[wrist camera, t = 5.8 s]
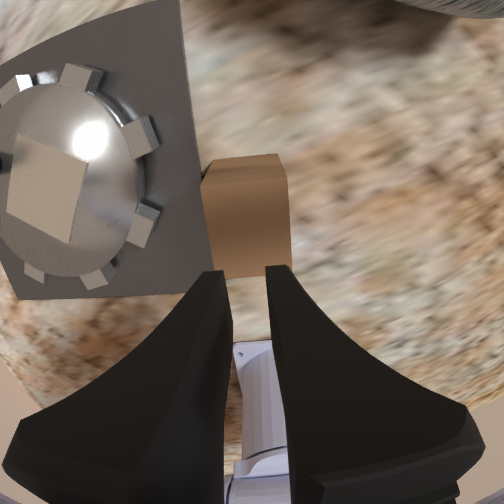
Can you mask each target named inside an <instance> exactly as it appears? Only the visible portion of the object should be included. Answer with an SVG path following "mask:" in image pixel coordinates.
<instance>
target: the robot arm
mask: <svg viewBox="0 0 504 504" xmlns="http://www.w3.org/2000/svg"><path fill="white" fill-rule="evenodd" d="M265 274H266V286H267V297H268V307H269V318H270V329H271V340H266V341H253V342H238V343H235V344H234V345H233V320H232V314H231V309H230V303H229V298H228V292H227V287H226V281H225V276H224V270H216V271H204V272H203V273H202V274H201V275H200V276H199V277H198V279H197V280H196V281H195V282H194V284H193V285H192V286H191V287H190V289H189V290H188V291H187V292H186V294H185V295H184V296H183V298H182V299H181V300H180V301H179V302H178V304H177V305H176V306H175V307H174V308H173V310H172V311H171V312H170V313H169V314H168V315H167V316H166V318H165V319H164V320H163V321H162V322H161V323H160V324H159V325H158V326H157V327H156V328H155V329H154V331H153V332H152V333H151V334H150V335H149V336H148V337H147V338H146V339H144V340H143V341H142V342H141V343H140V344H139V345H138V346H137V347H136V348H135V349H134V350H132V351H131V352H130V353H129V354H128V355H127V356H125V357H124V358H123V359H122V360H121V361H119V362H118V363H117V364H115V365H114V366H113V367H111V368H110V369H109V370H107V371H106V372H105V373H103V374H102V375H101V376H99V377H98V378H97V379H95V380H94V381H92V382H91V383H89V384H88V385H86V386H84V387H83V388H81V389H80V390H78V391H77V392H75V393H73V394H71V395H70V396H68V397H66V398H65V399H63V400H61V401H59V402H57V403H56V404H54V405H51V406H49V407H47V408H45V409H43V410H41V411H39V412H37V413H35V414H33V415H31V416H29V417H26V418H24V419H21V420H20V423H19V425H18V427H17V429H16V431H15V434H14V436H13V438H12V441H11V444H10V445H9V448H8V450H7V453H6V455H5V458H4V460H3V463H2V466H3V469H4V471H5V473H6V474H7V475H8V476H10V477H11V478H12V479H13V480H14V481H16V482H17V483H18V484H20V485H21V486H22V487H24V488H25V489H27V490H28V491H30V492H31V493H33V494H35V495H36V496H38V497H39V498H41V499H42V500H44V501H46V502H47V503H49V504H456V500H455V498H456V497H458V496H459V495H460V491H459V488H458V485H457V482H456V481H457V480H458V479H459V478H460V477H462V476H463V475H464V474H465V473H466V472H467V471H468V470H469V469H470V468H472V467H473V466H474V465H475V464H476V463H477V461H478V460H479V459H480V458H481V457H482V454H483V452H484V450H485V444H484V442H483V439H482V437H481V435H480V432H479V430H478V427H477V425H476V423H475V421H474V419H473V418H472V416H471V414H470V413H469V411H468V409H467V407H466V406H465V405H463V404H461V403H458V402H456V401H454V400H451V399H449V398H447V397H444V396H442V395H440V394H438V393H435V392H433V391H431V390H429V389H427V388H425V387H423V386H421V385H419V384H417V383H415V382H414V381H412V380H410V379H408V378H406V377H405V376H403V375H401V374H399V373H398V372H396V371H395V370H393V369H392V368H390V367H389V366H387V365H386V364H384V363H383V362H381V361H380V360H378V359H377V358H375V357H374V356H372V355H371V354H369V353H368V352H367V351H366V350H364V349H363V348H362V347H360V346H359V345H358V344H357V343H356V342H354V341H353V340H352V339H351V338H350V337H348V336H347V335H346V334H345V333H344V332H343V331H342V330H341V329H340V328H339V327H338V326H337V325H335V324H334V323H333V322H332V320H331V319H330V318H329V317H328V316H327V315H326V314H325V313H324V312H323V311H322V310H321V309H320V308H319V307H318V306H317V304H316V303H315V302H314V301H313V300H312V298H311V297H310V296H309V295H308V294H307V292H306V291H305V290H304V288H303V287H302V286H301V284H300V283H299V282H298V280H297V279H296V277H295V276H294V274H293V273H292V271H291V269H290V267H289V266H287V265H286V264H283V265H272V266H265ZM239 352H240V353H239ZM232 353H233V356H234V360H235V365H236V369H237V374H238V379H239V383H240V388H241V392H242V396H243V410H242V460H241V461H235V462H234V474H228V475H225V476H224V417H225V407H226V399H227V392H228V384H229V377H230V369H231V361H232ZM0 504H21V503H19V502H17V501H15V500H13V499H11V498H9V497H7V496H5V495H3V494H2V493H0ZM474 504H504V488H502V489H501V490H499V491H497V492H496V493H493V494H492V495H490V496H488V497H486V498H484V499H482V500H480V501H478V502H476V503H474Z"/></svg>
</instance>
